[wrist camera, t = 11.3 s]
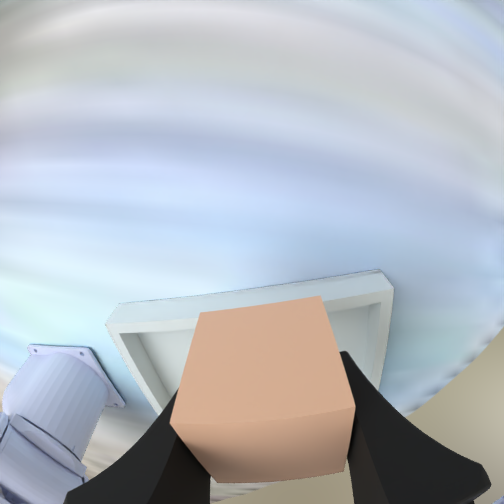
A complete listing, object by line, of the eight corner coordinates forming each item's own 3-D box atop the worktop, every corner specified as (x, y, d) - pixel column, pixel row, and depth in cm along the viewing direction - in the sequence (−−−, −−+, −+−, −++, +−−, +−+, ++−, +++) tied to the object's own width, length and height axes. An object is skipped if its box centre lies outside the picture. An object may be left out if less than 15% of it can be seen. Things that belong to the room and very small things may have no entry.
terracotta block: (227, 388, 12) (217, 482, 8) (200, 312, 11) (169, 422, 6) (324, 376, 12) (343, 471, 7) (320, 295, 10) (355, 406, 6)
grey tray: (185, 428, 25) (181, 447, 23) (118, 303, 19) (104, 323, 17) (362, 410, 24) (368, 430, 21) (379, 268, 17) (394, 288, 15)
